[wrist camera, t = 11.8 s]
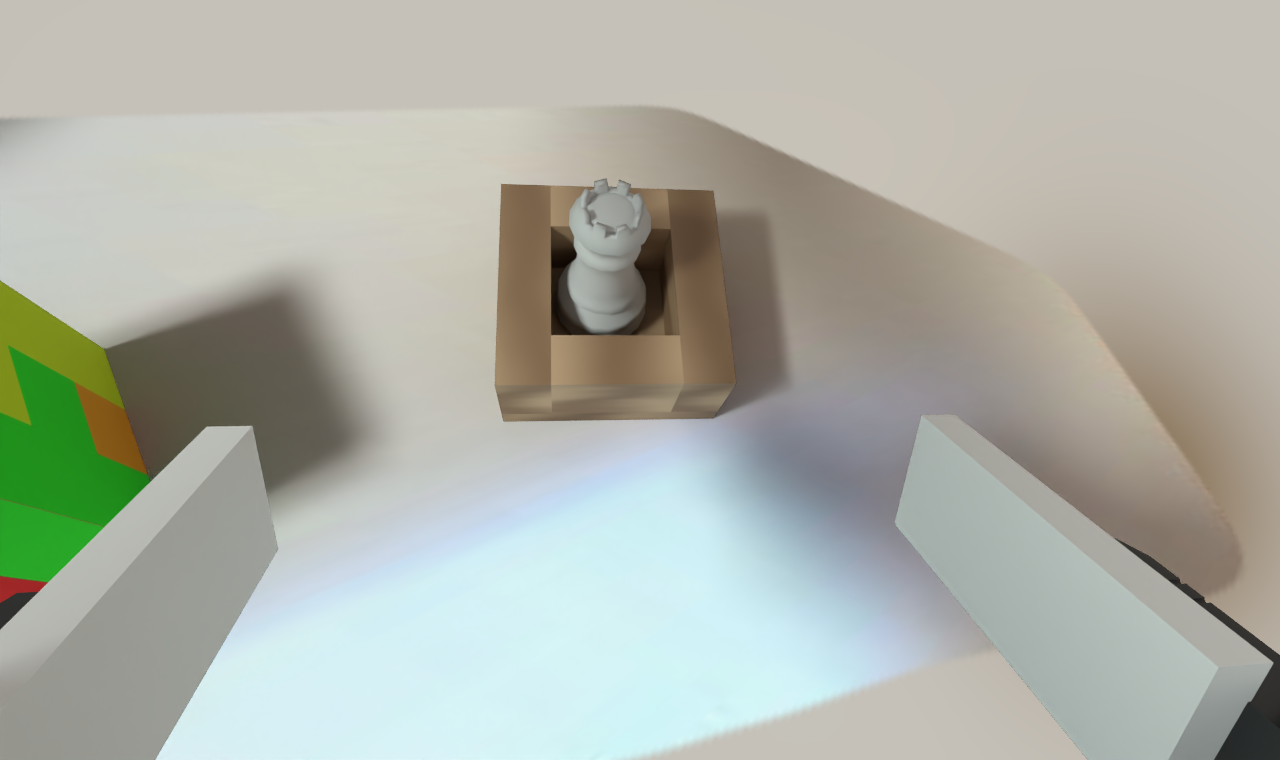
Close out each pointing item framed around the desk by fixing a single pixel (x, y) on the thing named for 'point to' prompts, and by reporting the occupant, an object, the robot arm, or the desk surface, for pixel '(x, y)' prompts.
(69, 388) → the puzzle toy
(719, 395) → the socket block
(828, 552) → the desk surface
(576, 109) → the desk surface
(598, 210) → the rook chess piece
